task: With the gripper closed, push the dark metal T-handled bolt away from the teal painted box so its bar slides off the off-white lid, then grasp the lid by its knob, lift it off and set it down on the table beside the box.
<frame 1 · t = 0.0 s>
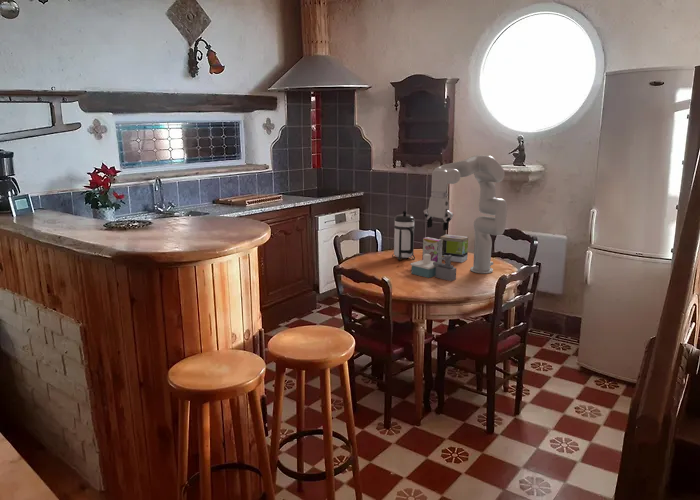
hand: (437, 228, 276), 31 cm above the table, fingers open, 9 cm apart
candy bar box: (431, 266, 325), on the table
tea box: (453, 260, 339), on the table
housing: (426, 273, 308), on the table
lid: (426, 265, 307), point 5 cm above the table, touching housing
bolt: (443, 260, 299), point 10 cm above the table, slide at 0.0 cm
coffee press: (404, 258, 341), on the table
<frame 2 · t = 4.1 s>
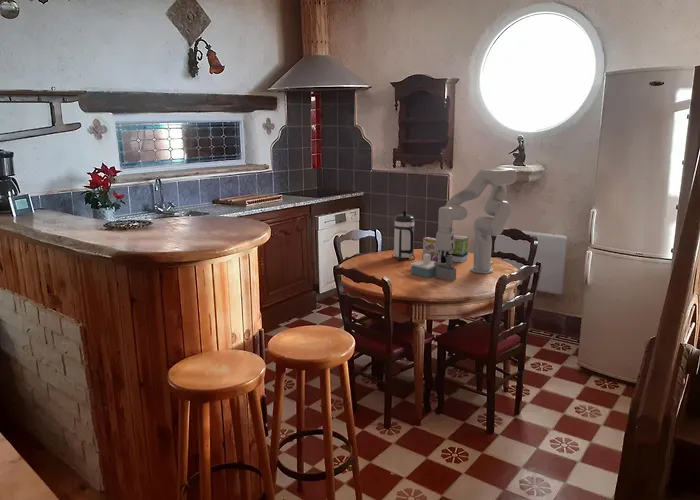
hand: (443, 262, 299), 9 cm above the table, fingers closed
bolt: (444, 260, 298), point 10 cm above the table, slide at 0.7 cm, touching gripper
everything else where it was.
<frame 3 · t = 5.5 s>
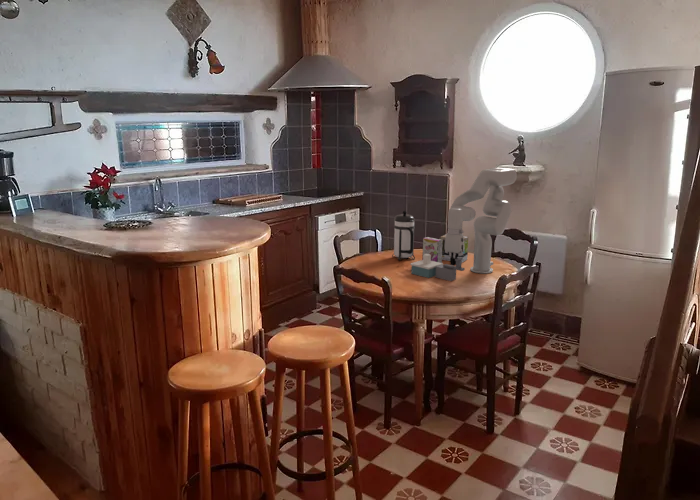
hand: (453, 264, 295), 9 cm above the table, fingers closed
bolt: (453, 262, 294), point 10 cm above the table, slide at 6.9 cm, touching gripper
everything else where it was.
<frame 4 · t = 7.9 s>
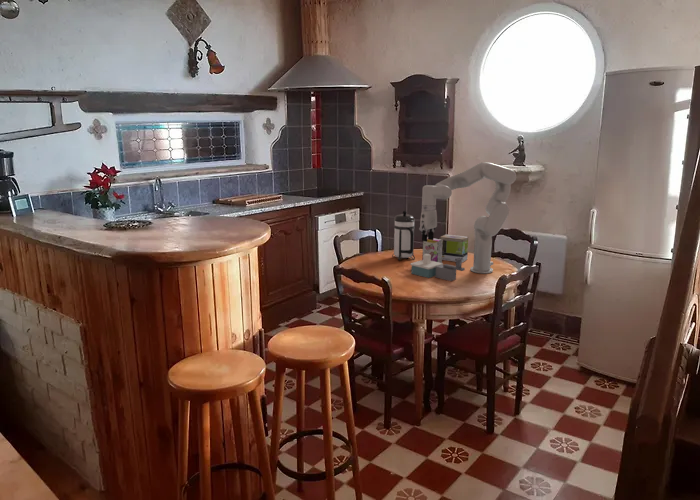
hand: (427, 240, 304), 19 cm above the table, fingers open, 4 cm apart
bolt: (454, 262, 294), point 10 cm above the table, slide at 6.9 cm
everything else where it was.
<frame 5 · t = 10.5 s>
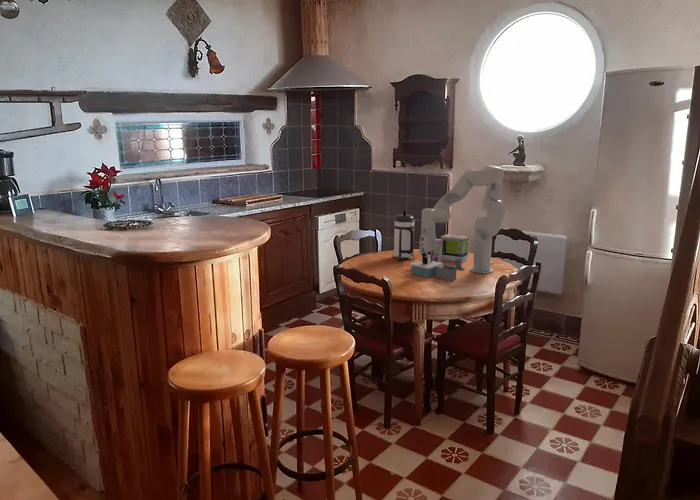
hand: (426, 262, 307), 6 cm above the table, fingers closed on lid, 3 cm apart
lid: (426, 265, 307), point 5 cm above the table, touching gripper, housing
everything else where it was.
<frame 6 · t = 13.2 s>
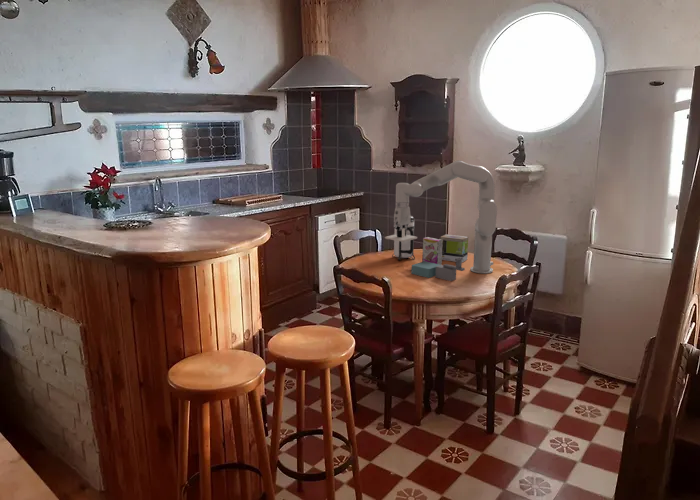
hand: (401, 236, 314), 19 cm above the table, fingers closed on lid, 3 cm apart
lid: (401, 238, 314), point 18 cm above the table, touching gripper
everything else where it was.
when the fingers open (4 cm above the table, at t = 16.1 s): lid drops 3 cm, on the table.
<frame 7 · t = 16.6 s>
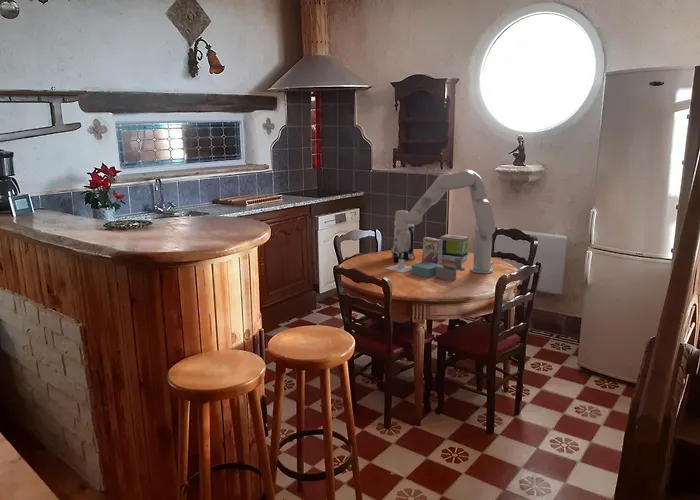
hand: (400, 261, 318), 4 cm above the table, fingers open, 8 cm apart
lid: (400, 269, 319), on the table
everything else where it was.
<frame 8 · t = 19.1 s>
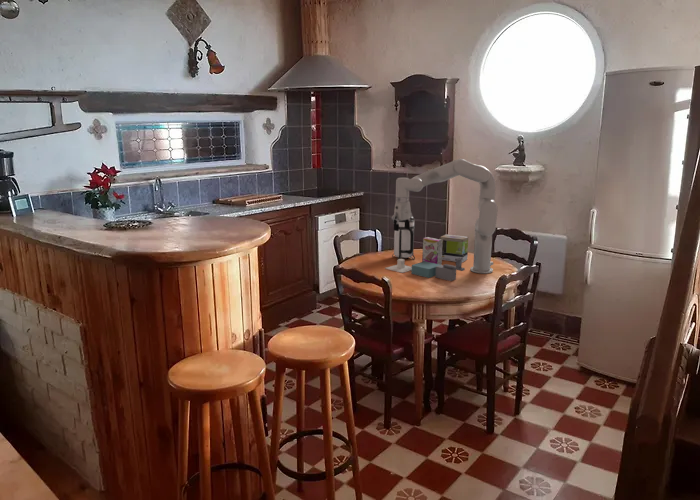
hand: (401, 229, 313), 23 cm above the table, fingers open, 9 cm apart
nothing on the table moved.
at the end: bolt slide at 6.9 cm; lid inside the target area (0.0 cm from its centre), on the table; lid tilted 0° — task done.
